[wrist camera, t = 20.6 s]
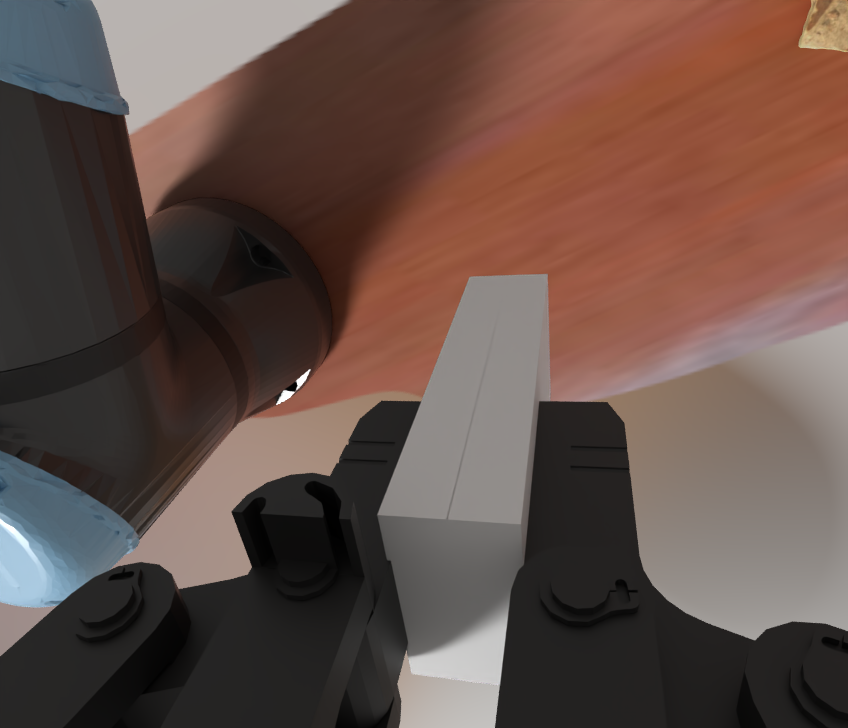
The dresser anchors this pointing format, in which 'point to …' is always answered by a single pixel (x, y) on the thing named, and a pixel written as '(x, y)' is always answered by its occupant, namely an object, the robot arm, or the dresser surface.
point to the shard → (826, 26)
